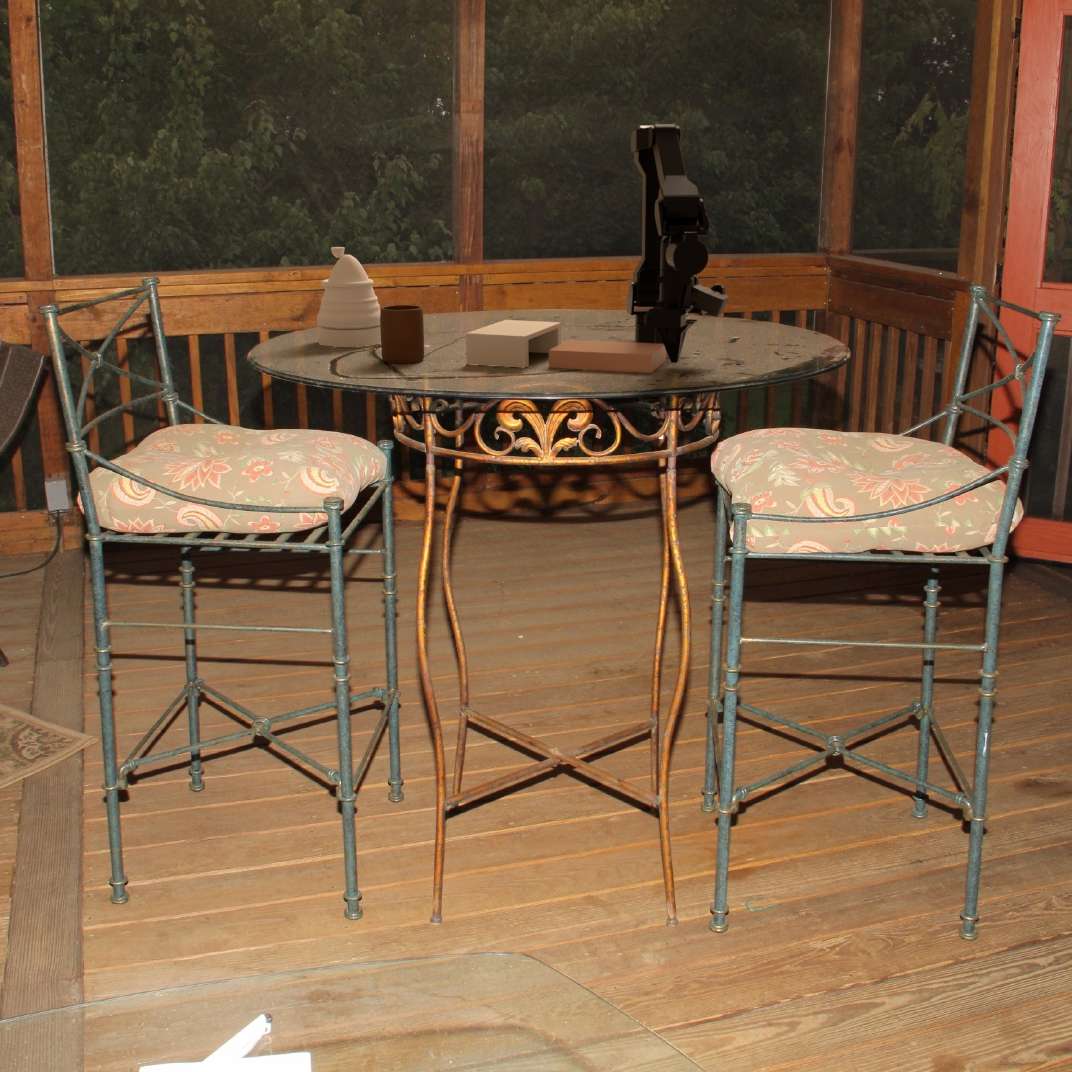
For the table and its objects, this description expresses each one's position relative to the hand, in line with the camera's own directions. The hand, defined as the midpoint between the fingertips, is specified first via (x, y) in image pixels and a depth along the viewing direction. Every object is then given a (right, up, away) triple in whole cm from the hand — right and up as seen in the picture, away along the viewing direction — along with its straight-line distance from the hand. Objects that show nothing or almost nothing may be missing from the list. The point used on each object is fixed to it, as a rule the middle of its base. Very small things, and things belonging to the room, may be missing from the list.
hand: (674, 362), depth 217 cm
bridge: (-28, +2, +10) cm, 29 cm away
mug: (-48, +2, +11) cm, 49 cm away
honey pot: (-60, +8, +29) cm, 67 cm away
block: (-11, 0, +4) cm, 12 cm away
